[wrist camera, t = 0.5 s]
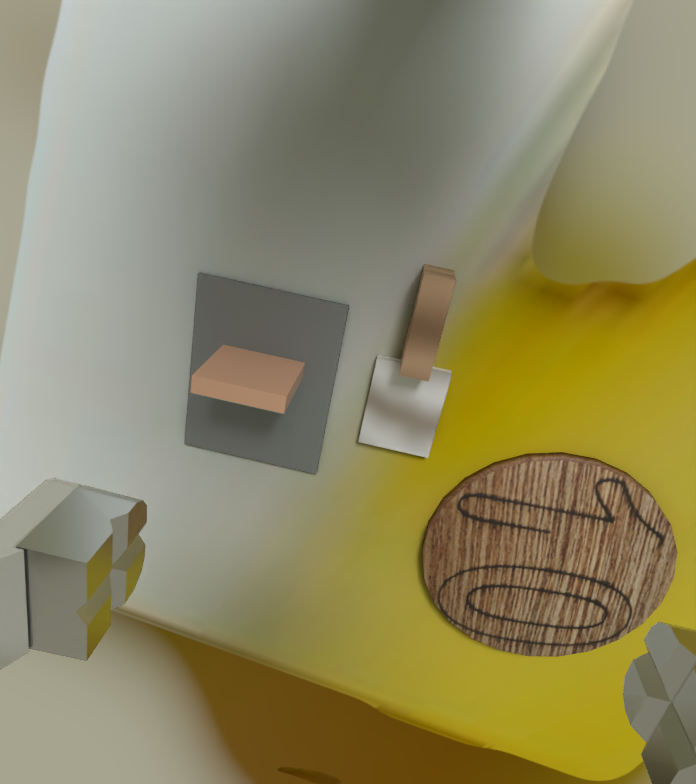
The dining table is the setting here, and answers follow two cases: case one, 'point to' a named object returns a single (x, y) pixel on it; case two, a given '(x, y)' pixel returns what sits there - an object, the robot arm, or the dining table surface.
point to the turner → (412, 375)
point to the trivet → (548, 554)
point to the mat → (273, 337)
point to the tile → (249, 378)
